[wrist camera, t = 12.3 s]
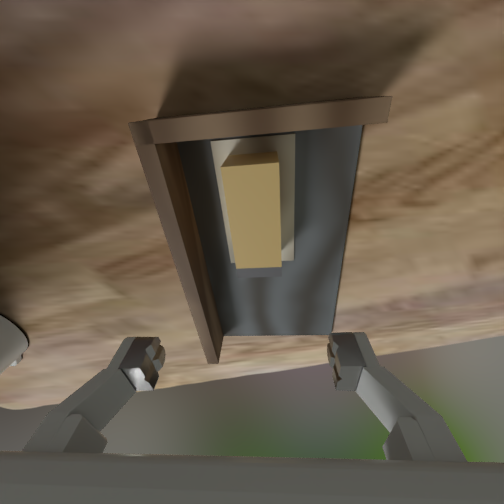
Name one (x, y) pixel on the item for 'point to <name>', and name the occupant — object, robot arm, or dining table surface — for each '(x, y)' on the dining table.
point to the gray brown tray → (291, 210)
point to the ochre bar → (254, 212)
